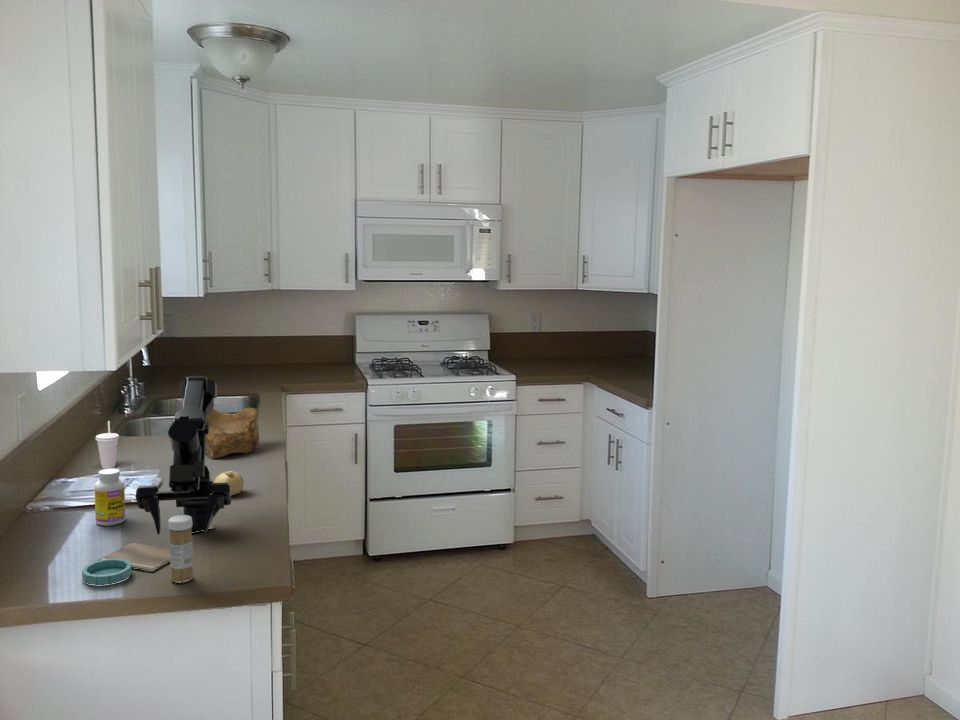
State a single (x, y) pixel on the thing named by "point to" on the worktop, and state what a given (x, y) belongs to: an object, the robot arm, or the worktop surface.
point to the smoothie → (107, 448)
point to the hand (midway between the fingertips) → (182, 532)
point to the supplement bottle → (109, 498)
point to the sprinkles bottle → (181, 548)
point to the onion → (231, 481)
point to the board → (141, 555)
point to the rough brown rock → (232, 432)
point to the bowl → (106, 571)
